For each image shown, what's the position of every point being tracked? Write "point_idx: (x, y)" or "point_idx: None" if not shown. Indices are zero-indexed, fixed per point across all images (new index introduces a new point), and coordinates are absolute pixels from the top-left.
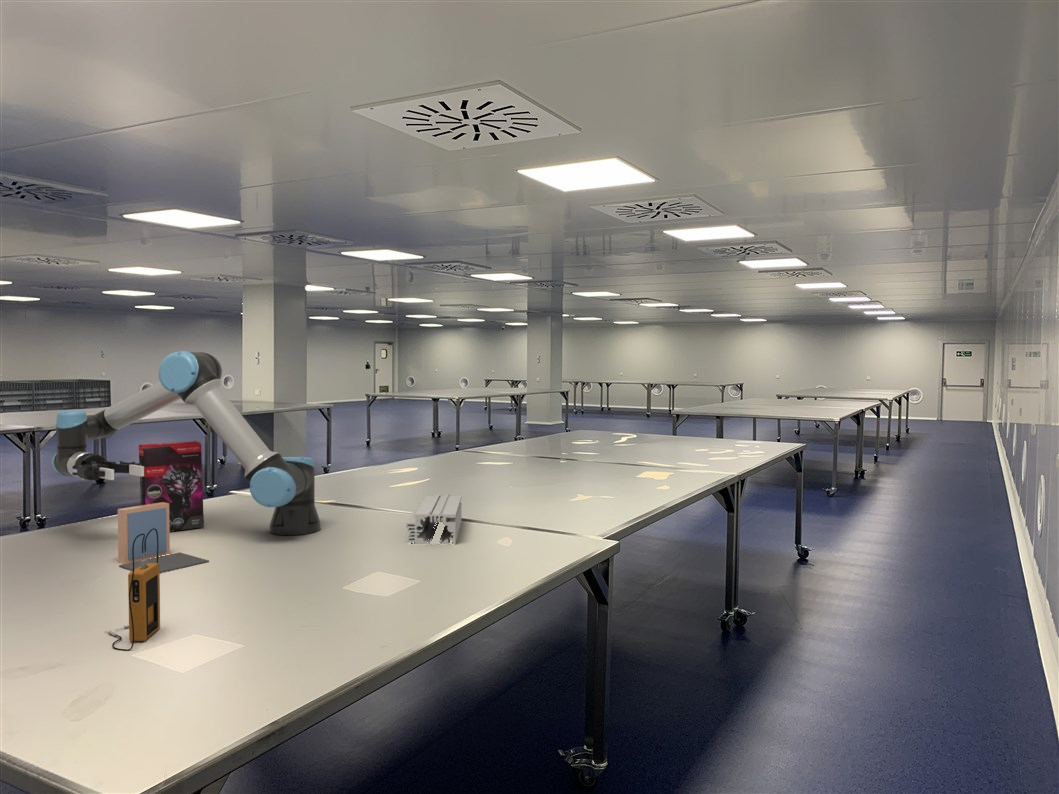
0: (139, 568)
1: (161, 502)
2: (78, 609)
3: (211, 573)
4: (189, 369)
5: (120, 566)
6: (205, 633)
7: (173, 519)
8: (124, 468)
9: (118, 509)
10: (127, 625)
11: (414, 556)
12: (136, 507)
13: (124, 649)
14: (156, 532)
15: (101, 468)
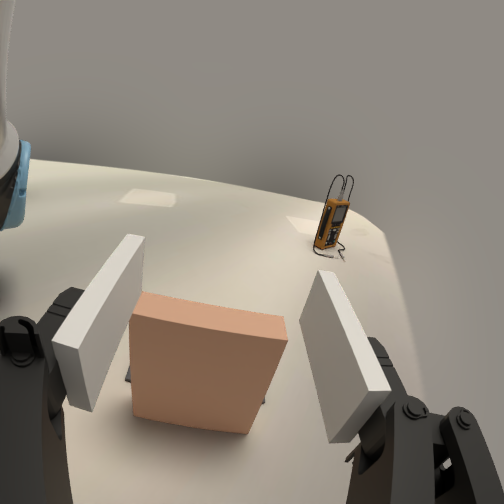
0: (342, 201)
1: (135, 313)
2: (356, 301)
3: (195, 281)
4: None
5: (264, 397)
6: (294, 229)
7: None
8: (57, 461)
9: (286, 337)
10: (331, 255)
11: (65, 196)
12: (236, 318)
13: (339, 243)
14: (334, 178)
15: (377, 361)
